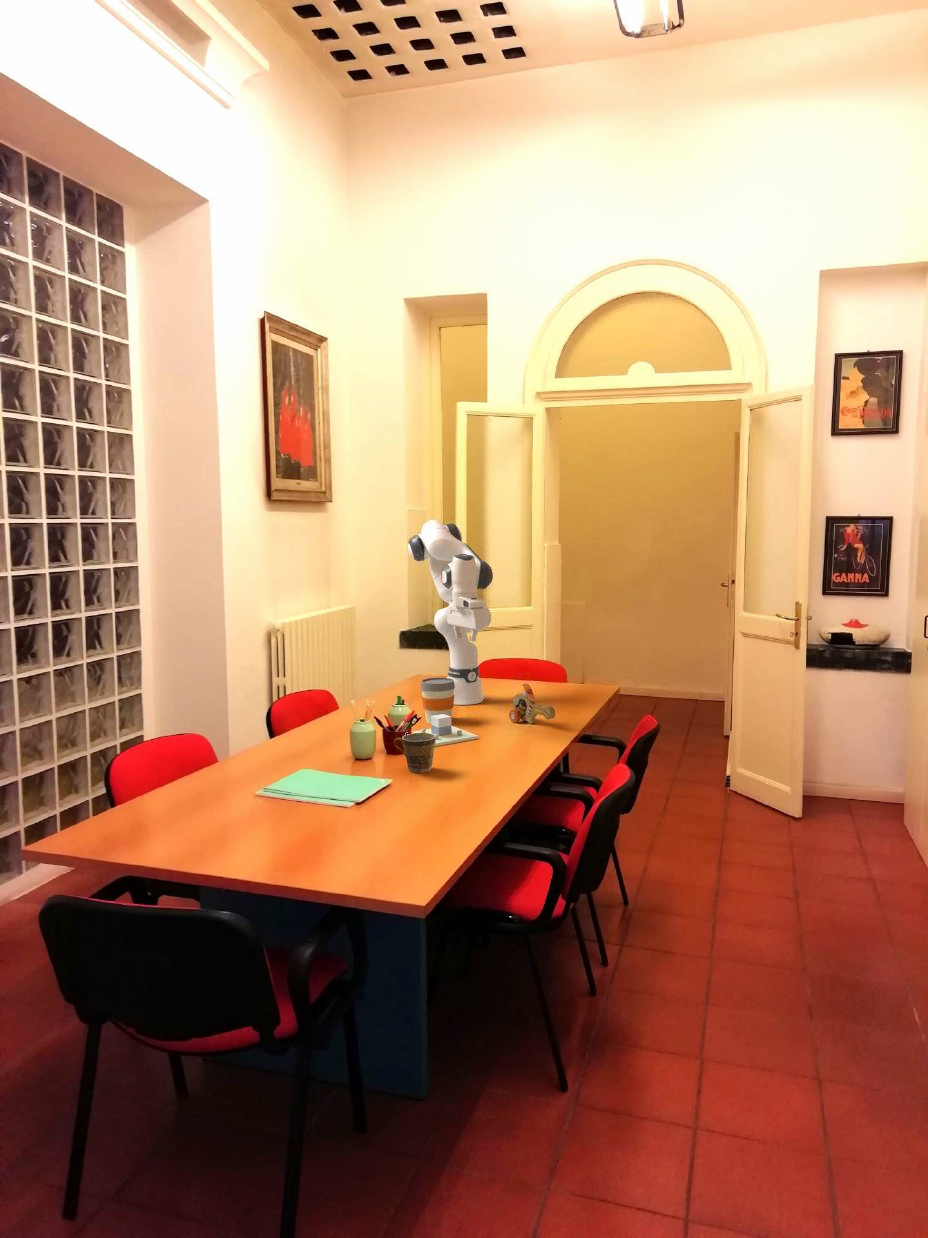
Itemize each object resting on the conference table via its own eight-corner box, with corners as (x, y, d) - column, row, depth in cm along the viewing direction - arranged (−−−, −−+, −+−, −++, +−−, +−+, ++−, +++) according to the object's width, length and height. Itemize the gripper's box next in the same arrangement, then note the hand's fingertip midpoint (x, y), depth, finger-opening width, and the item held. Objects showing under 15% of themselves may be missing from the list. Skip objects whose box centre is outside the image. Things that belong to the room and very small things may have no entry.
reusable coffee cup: (417, 724, 316) (416, 683, 314) (426, 716, 328) (425, 677, 326) (450, 725, 313) (449, 684, 311) (459, 717, 325) (458, 677, 323)
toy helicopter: (523, 717, 323) (523, 681, 321) (562, 728, 306) (562, 689, 305) (506, 721, 318) (506, 684, 316) (545, 731, 302) (544, 692, 300)
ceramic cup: (440, 766, 263) (440, 733, 262) (430, 775, 254) (429, 742, 253) (400, 763, 267) (399, 731, 266) (388, 773, 257) (387, 740, 256)
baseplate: (405, 735, 300) (405, 728, 300) (450, 728, 309) (450, 721, 309) (431, 747, 285) (431, 739, 285) (478, 738, 294) (477, 731, 294)
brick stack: (431, 733, 298) (431, 716, 297) (444, 731, 300) (443, 714, 300) (438, 736, 294) (438, 718, 293) (451, 734, 296) (451, 716, 296)
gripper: (442, 599, 315) (443, 637, 316) (472, 603, 297) (473, 643, 299) (457, 597, 318) (458, 635, 320) (488, 602, 301) (488, 642, 302)
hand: (465, 639), depth 309 cm, fingers open, 8 cm apart
